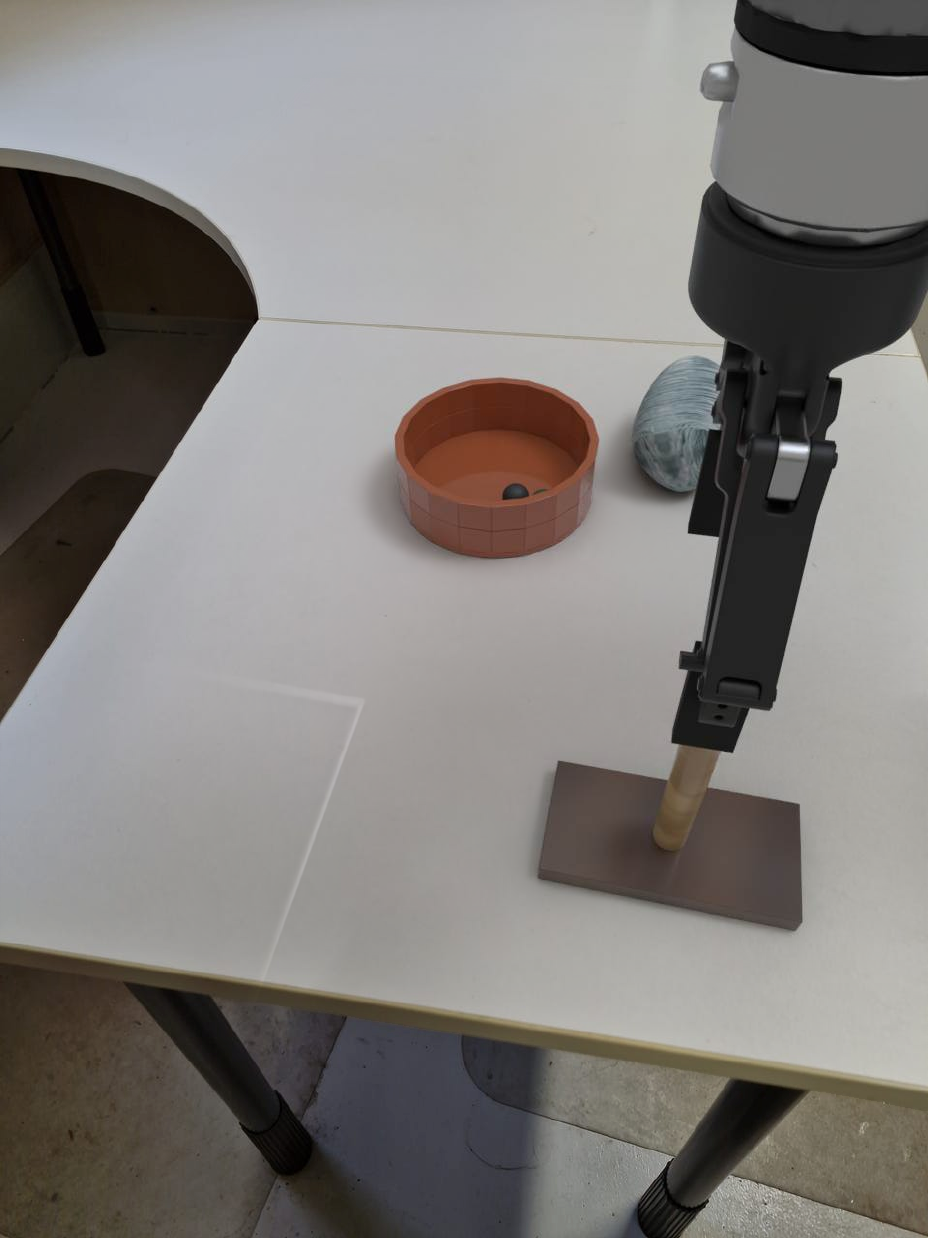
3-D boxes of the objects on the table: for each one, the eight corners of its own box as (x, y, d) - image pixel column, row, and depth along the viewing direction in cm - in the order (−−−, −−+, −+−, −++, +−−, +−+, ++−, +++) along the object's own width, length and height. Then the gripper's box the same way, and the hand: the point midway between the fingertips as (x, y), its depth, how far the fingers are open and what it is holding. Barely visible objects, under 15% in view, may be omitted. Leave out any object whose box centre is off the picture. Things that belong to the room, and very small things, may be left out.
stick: (688, 823, 55) (737, 689, 44) (686, 854, 54) (736, 725, 43) (653, 816, 56) (694, 682, 44) (650, 847, 54) (691, 717, 43)
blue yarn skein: (732, 494, 72) (706, 381, 69) (628, 510, 78) (598, 405, 74) (766, 437, 82) (744, 334, 78) (671, 454, 88) (646, 359, 84)
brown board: (794, 814, 57) (800, 803, 56) (796, 931, 52) (802, 922, 51) (556, 771, 60) (557, 760, 59) (537, 878, 55) (538, 868, 54)
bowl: (603, 440, 83) (609, 388, 78) (578, 571, 72) (583, 519, 67) (427, 420, 86) (423, 368, 81) (377, 543, 75) (369, 491, 70)
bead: (536, 490, 76) (513, 476, 76) (530, 494, 74) (507, 479, 74) (523, 513, 77) (501, 499, 77) (517, 517, 75) (494, 503, 75)
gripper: (717, 48, 35) (651, 458, 51) (681, 426, 19) (603, 841, 36) (914, 53, 33) (782, 472, 50) (1044, 462, 18) (791, 875, 34)
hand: (707, 626), depth 43 cm, fingers open, 13 cm apart
